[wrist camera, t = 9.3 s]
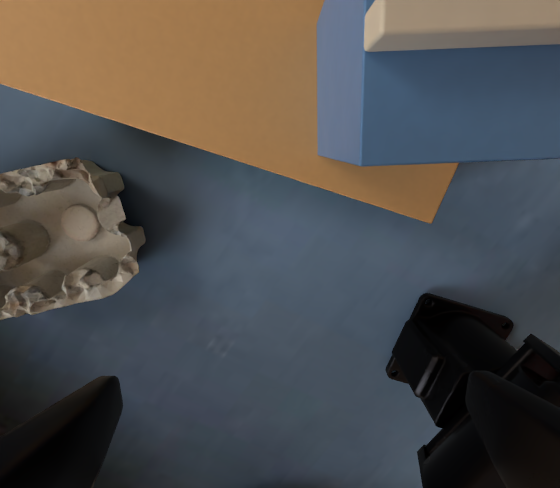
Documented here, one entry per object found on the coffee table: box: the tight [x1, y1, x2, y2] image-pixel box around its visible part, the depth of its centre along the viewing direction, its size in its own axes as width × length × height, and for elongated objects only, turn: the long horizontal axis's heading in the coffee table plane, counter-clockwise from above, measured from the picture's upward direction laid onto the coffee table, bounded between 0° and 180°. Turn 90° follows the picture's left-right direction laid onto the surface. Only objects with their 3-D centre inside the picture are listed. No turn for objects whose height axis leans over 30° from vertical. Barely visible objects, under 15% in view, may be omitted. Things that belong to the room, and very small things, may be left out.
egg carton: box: [0, 157, 146, 320], centre depth 19 cm, size 11×8×4 cm
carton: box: [317, 0, 560, 167], centre depth 10 cm, size 5×5×9 cm
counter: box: [0, 0, 459, 223], centre depth 16 cm, size 20×10×4 cm, turn 72°
